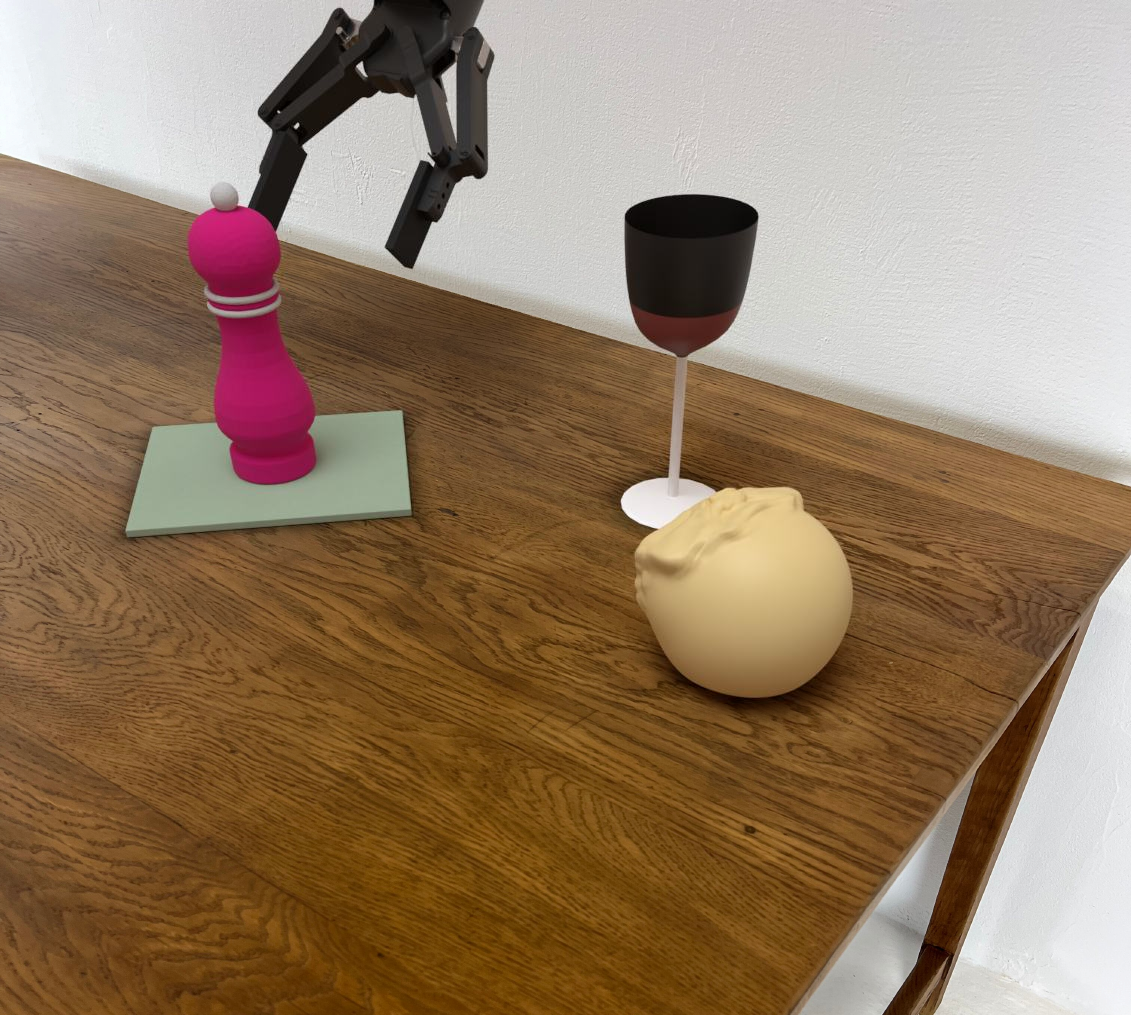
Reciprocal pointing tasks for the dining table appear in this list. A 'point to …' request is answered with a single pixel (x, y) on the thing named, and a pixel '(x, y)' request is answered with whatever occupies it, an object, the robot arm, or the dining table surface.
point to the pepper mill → (252, 344)
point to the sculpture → (745, 591)
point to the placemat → (225, 501)
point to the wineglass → (683, 308)
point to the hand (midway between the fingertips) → (326, 240)
